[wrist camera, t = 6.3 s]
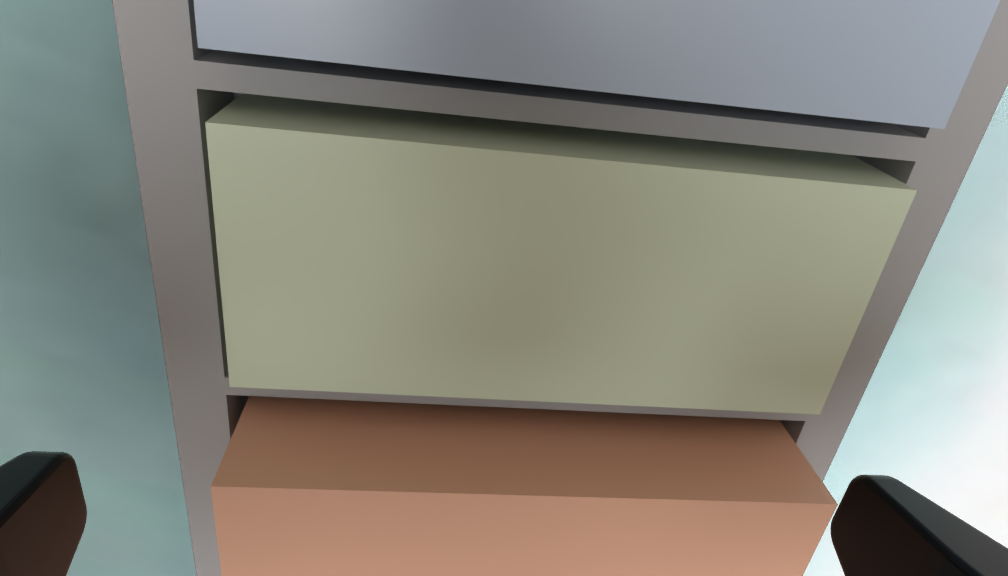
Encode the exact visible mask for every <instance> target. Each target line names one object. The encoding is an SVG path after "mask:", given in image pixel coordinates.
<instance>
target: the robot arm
mask: <svg viewBox="0 0 1008 576" xmlns="http://www.w3.org/2000/svg"><path fill="white" fill-rule="evenodd" d="M86 516H87V510H86V504H85V500H84V495H83V491H82V487H81V483H80V479H79V475H78V471H77V467H76V463H75V461H74V459H73V457H72V456H71V455H70V454H68V453H64V452H41V451H32V452H26V453H23V454H21V455H19V456H17V457H15V458H13V459H12V460H10V461H8V462H7V463H5V464H3V465H2V466H0V576H66V574H67V572H68V569H69V567H70V564H71V562H72V559H73V557H74V554H75V552H76V549H77V546H78V544H79V541H80V539H81V536H82V534H83V531H84V528H85V523H86ZM831 538H832V542H833V545H834V548H835V550H836V553H837V556H838V558H839V561H840V564H841V566H842V569H843V572H844V574H845V576H1008V548H1006V547H1004V546H1003V545H1001V544H1000V543H998V542H996V541H995V540H993V539H992V538H990V537H988V536H987V535H985V534H984V533H982V532H980V531H979V530H977V529H976V528H974V527H972V526H971V525H969V524H968V523H966V522H964V521H963V520H961V519H959V518H958V517H956V516H955V515H953V514H951V513H950V512H948V511H947V510H945V509H943V508H942V507H940V506H939V505H937V504H935V503H934V502H932V501H931V500H929V499H927V498H926V497H924V496H923V495H921V494H919V493H918V492H916V491H915V490H913V489H911V488H910V487H908V486H907V485H905V484H903V483H902V482H900V481H899V480H897V479H895V478H893V477H890V476H884V475H860V476H857V477H856V478H854V479H853V480H852V481H851V483H850V484H849V486H848V488H847V490H846V492H845V494H844V497H843V499H842V501H841V503H840V505H839V507H838V509H837V511H836V513H835V515H834V517H833V519H832V522H831Z"/></svg>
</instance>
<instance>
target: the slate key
mask: <svg viewBox="0 0 1008 576" xmlns="http://www.w3.org/2000/svg"><path fill="white" fill-rule="evenodd" d="M999 2H1000V0H194V11H195V22H196V32H197V43H198V48H204V49H213V50H222V51H231V52H240V53H250V54H259V55H268V56H277V57H286V58H295V59H305V60H314V61H323V62H332V63H341V64H351V65H360V66H369V67H378V68H387V69H396V70H406V71H415V72H424V73H433V74H442V75H452V76H461V77H470V78H479V79H488V80H497V81H507V82H516V83H525V84H534V85H543V86H553V87H562V88H571V89H580V90H589V91H598V92H608V93H617V94H626V95H635V96H644V97H653V98H663V99H672V100H681V101H690V102H699V103H709V104H718V105H727V106H736V107H745V108H754V109H764V110H773V111H782V112H791V113H800V114H810V115H819V116H828V117H837V118H846V119H855V120H865V121H874V122H883V123H892V124H901V125H911V126H920V127H929V128H938V129H945V127H946V124H947V122H948V120H949V117H950V115H951V113H952V110H953V108H954V106H955V104H956V101H957V99H958V97H959V94H960V92H961V90H962V88H963V85H964V83H965V81H966V78H967V76H968V74H969V71H970V69H971V67H972V65H973V62H974V60H975V58H976V55H977V53H978V51H979V48H980V46H981V44H982V42H983V39H984V37H985V35H986V32H987V30H988V28H989V25H990V23H991V21H992V19H993V16H994V14H995V12H996V9H997V7H998V5H999Z"/></svg>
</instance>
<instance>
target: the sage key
mask: <svg viewBox="0 0 1008 576" xmlns="http://www.w3.org/2000/svg"><path fill="white" fill-rule="evenodd" d="M205 126H206V137H207V148H208V159H209V169H210V180H211V191H212V202H213V212H214V223H215V234H216V245H217V255H218V266H219V277H220V288H221V298H222V309H223V320H224V331H225V341H226V352H227V363H228V373H229V384H230V387H243V388H264V389H285V390H307V391H328V392H349V393H371V394H392V395H413V396H435V397H456V398H477V399H499V400H520V401H541V402H562V403H584V404H605V405H626V406H648V407H669V408H690V409H712V410H733V411H754V412H776V413H797V414H818V415H820V413H821V411H822V408H823V406H824V404H825V401H826V399H827V397H828V394H829V392H830V390H831V388H832V385H833V383H834V381H835V378H836V376H837V374H838V372H839V369H840V367H841V365H842V362H843V360H844V358H845V355H846V353H847V351H848V349H849V346H850V344H851V342H852V339H853V337H854V335H855V332H856V330H857V328H858V326H859V323H860V321H861V319H862V316H863V314H864V312H865V309H866V307H867V305H868V303H869V300H870V298H871V296H872V293H873V291H874V289H875V286H876V284H877V282H878V280H879V277H880V275H881V273H882V270H883V268H884V266H885V263H886V261H887V259H888V257H889V254H890V252H891V250H892V247H893V245H894V243H895V240H896V238H897V236H898V234H899V231H900V229H901V227H902V224H903V222H904V220H905V217H906V215H907V213H908V211H909V208H910V206H911V204H912V201H913V199H914V197H915V194H916V192H917V190H916V189H914V188H912V187H910V186H908V185H907V184H905V183H903V182H901V181H899V180H897V179H895V178H894V177H892V176H890V175H888V174H886V173H884V172H882V171H881V170H879V169H877V168H875V167H873V166H871V165H869V164H868V163H866V162H864V161H862V160H860V159H858V158H856V157H855V156H853V155H846V154H836V153H826V152H817V151H807V150H797V149H787V148H777V147H767V146H757V145H748V144H738V143H728V142H718V141H708V140H698V139H688V138H678V137H669V136H659V135H649V134H639V133H629V132H619V131H609V130H600V129H590V128H580V127H570V126H560V125H550V124H540V123H531V122H521V121H511V120H501V119H491V118H481V117H471V116H462V115H452V114H442V113H432V112H422V111H412V110H402V109H393V108H383V107H373V106H363V105H353V104H343V103H333V102H324V101H314V100H304V99H294V98H284V97H274V96H264V95H254V94H245V93H242V94H241V95H240V96H238V97H237V98H236V99H235V100H233V101H232V102H231V103H229V104H228V105H227V106H226V107H224V108H223V109H222V110H220V111H219V112H218V113H217V114H215V115H214V116H213V117H211V118H210V119H209V120H208V121H206V122H205Z"/></svg>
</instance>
